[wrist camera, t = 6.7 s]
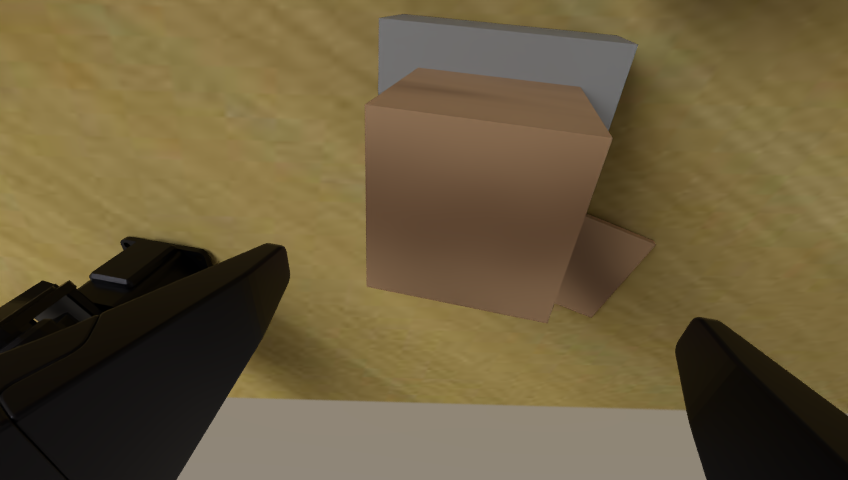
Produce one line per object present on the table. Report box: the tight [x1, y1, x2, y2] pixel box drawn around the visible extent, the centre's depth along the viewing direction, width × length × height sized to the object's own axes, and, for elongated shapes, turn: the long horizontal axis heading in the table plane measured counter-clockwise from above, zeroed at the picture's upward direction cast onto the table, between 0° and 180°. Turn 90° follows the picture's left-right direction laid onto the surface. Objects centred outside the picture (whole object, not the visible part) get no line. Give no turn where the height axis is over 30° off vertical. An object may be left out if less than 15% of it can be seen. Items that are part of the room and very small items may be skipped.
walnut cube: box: [365, 68, 613, 323], centre depth 13 cm, size 6×6×6 cm
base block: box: [378, 14, 638, 131], centre depth 17 cm, size 9×9×4 cm
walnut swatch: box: [555, 214, 656, 317], centre depth 22 cm, size 6×6×1 cm
